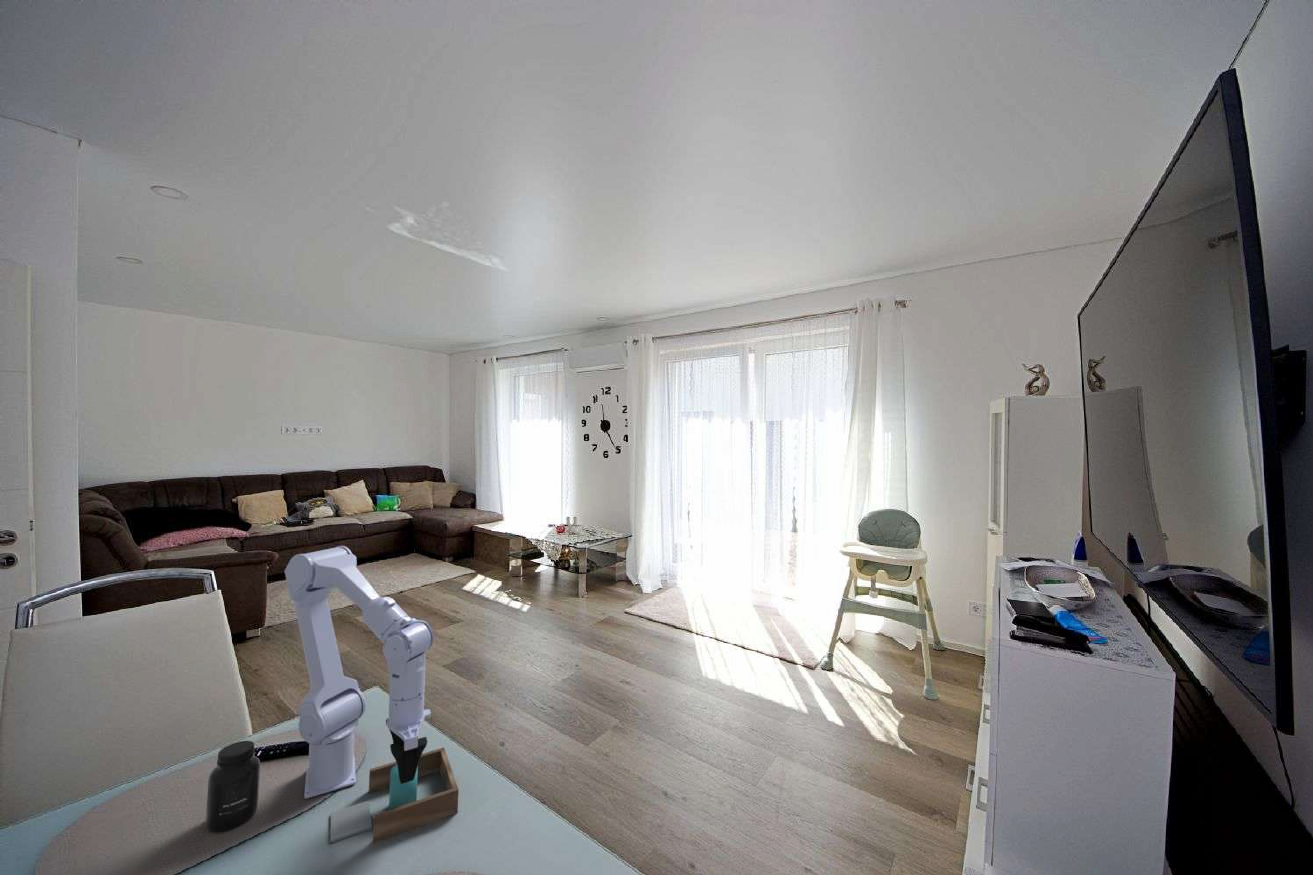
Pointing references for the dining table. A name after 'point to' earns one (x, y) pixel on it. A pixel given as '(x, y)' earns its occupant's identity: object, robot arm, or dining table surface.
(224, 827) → the supplement bottle
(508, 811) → the dining table surface
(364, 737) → the dining table surface
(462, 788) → the dining table surface
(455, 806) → the open u-shaped frame
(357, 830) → the mat
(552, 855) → the dining table surface
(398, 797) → the capsule
